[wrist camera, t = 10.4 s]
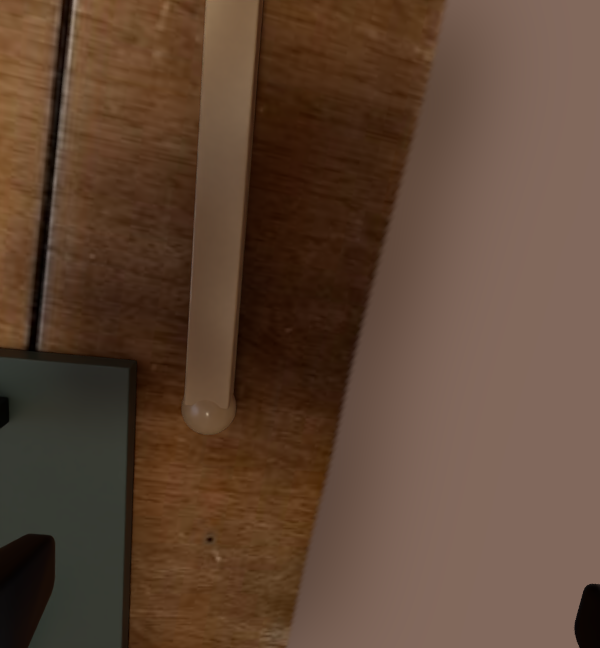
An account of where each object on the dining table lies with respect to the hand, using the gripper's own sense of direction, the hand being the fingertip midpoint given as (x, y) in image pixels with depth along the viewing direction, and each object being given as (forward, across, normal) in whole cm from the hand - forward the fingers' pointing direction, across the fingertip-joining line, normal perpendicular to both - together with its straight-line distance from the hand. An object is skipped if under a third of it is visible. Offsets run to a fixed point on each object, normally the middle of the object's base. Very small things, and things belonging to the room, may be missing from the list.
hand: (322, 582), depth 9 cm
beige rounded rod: (+11, +4, -7) cm, 14 cm away
